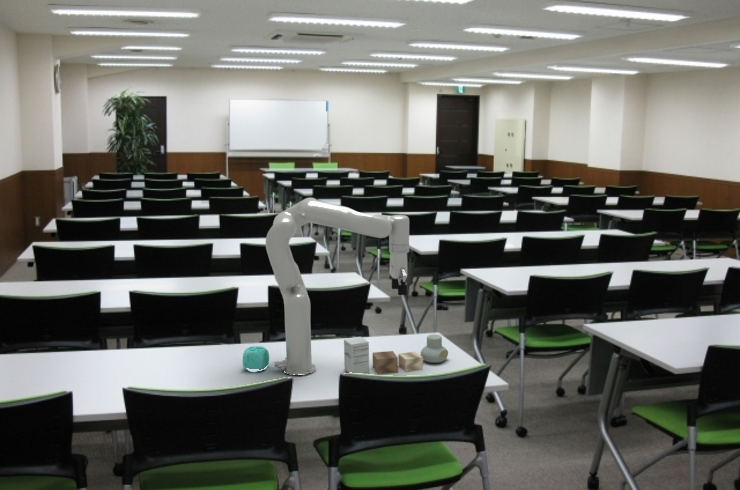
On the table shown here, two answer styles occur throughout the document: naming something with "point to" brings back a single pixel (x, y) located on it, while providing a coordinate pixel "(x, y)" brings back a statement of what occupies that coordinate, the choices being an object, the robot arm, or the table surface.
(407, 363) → the maple block
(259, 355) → the teal rounded cube
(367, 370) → the supplement box
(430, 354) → the air freshener
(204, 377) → the table surface
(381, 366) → the walnut block
